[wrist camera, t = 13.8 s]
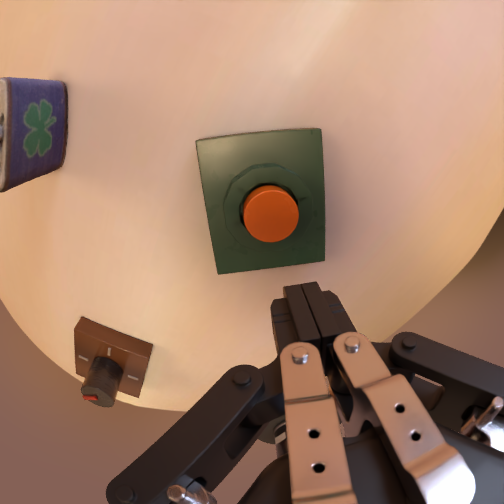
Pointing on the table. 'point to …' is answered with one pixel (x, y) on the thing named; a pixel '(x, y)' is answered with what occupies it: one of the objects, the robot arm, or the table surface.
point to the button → (270, 213)
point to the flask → (31, 129)
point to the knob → (102, 382)
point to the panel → (111, 353)
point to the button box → (252, 177)
